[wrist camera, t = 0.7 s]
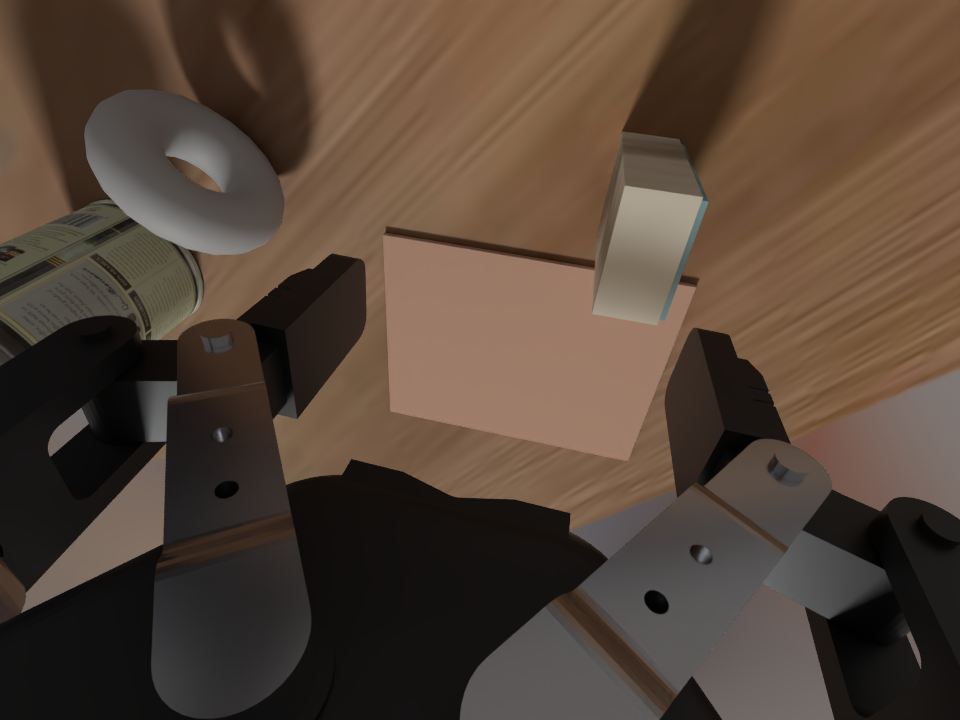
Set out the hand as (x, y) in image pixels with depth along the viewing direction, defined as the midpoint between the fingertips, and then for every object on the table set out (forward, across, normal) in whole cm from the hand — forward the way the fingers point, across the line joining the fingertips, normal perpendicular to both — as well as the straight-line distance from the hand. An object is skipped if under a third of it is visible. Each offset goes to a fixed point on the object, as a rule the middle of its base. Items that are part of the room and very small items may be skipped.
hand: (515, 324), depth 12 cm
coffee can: (+20, +31, +13) cm, 39 cm away
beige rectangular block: (+19, -4, +2) cm, 20 cm away
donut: (+19, +20, +3) cm, 28 cm away
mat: (+20, +1, +15) cm, 25 cm away
